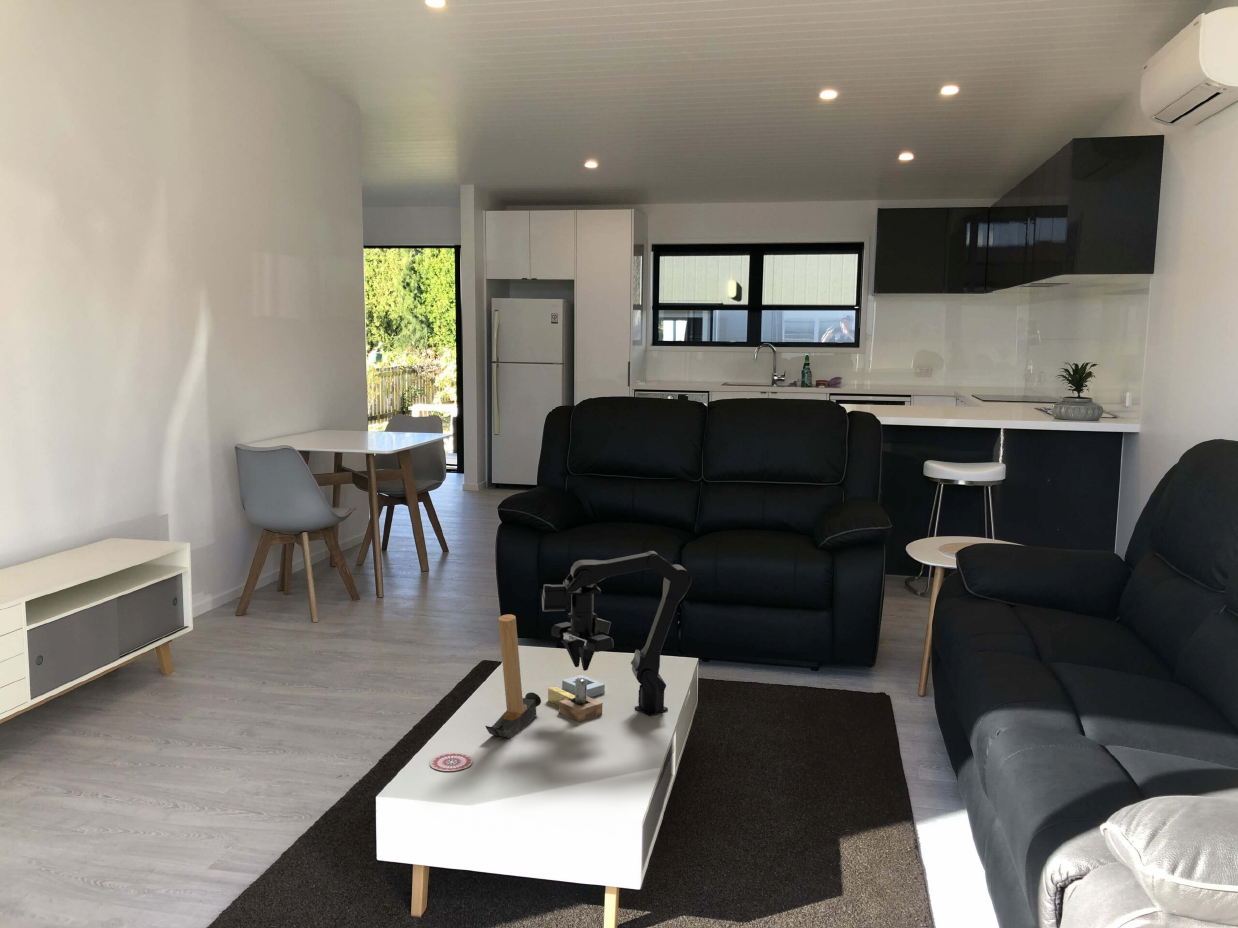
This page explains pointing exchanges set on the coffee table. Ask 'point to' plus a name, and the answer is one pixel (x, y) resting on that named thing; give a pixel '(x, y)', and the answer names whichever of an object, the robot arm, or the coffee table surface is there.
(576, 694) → the peg
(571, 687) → the light blue rectangular frame
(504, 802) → the coffee table surface
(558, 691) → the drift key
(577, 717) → the socket block
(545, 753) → the coffee table surface
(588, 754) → the coffee table surface
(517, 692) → the hammer
